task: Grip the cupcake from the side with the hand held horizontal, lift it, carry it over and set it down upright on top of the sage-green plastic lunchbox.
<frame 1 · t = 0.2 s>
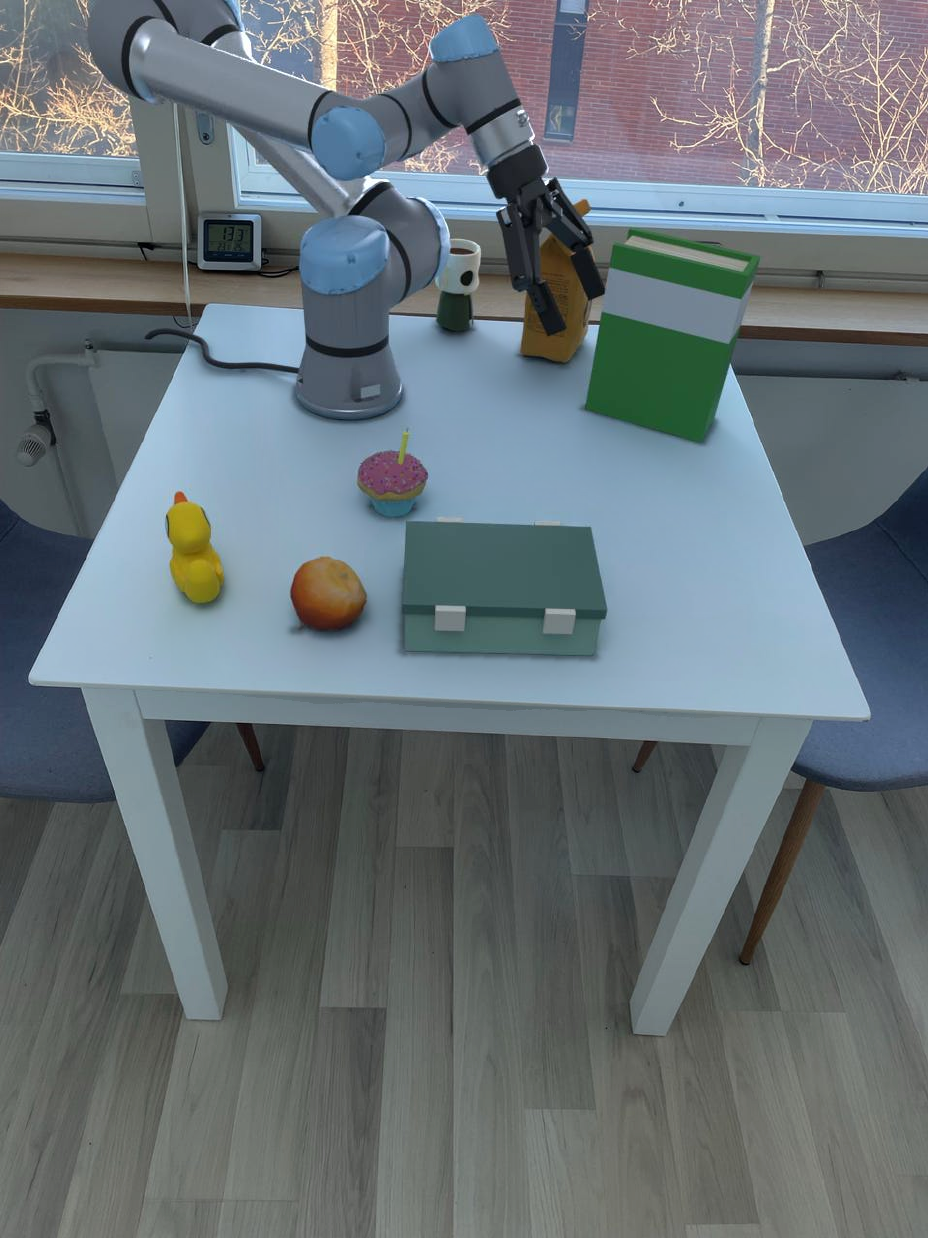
hand: (578, 314, 119), 15 cm above the table, tool tilted 35°, fingers open, 13 cm apart
character mug: (454, 326, 148), on the table
hardback book: (649, 415, 131), on the table
lunchbox: (496, 611, 98), on the table
coffee package: (553, 348, 144), on the table
fruit: (330, 619, 96), on the table
duckling: (200, 586, 98), on the table
cupcake: (391, 507, 111), on the table
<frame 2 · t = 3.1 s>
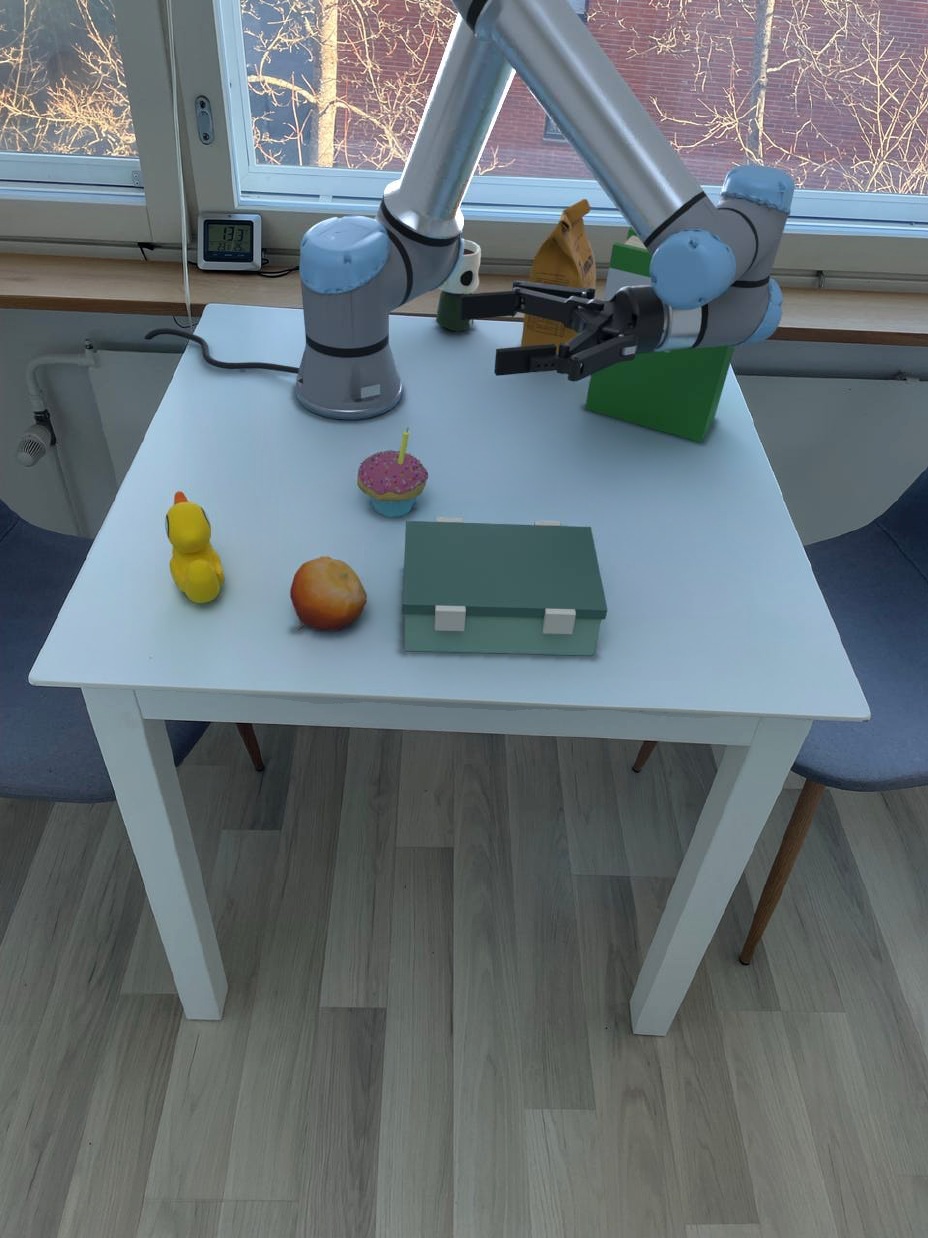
hand: (477, 333, 98), 22 cm above the table, tool horizontal, fingers open, 13 cm apart
nothing on the table moved.
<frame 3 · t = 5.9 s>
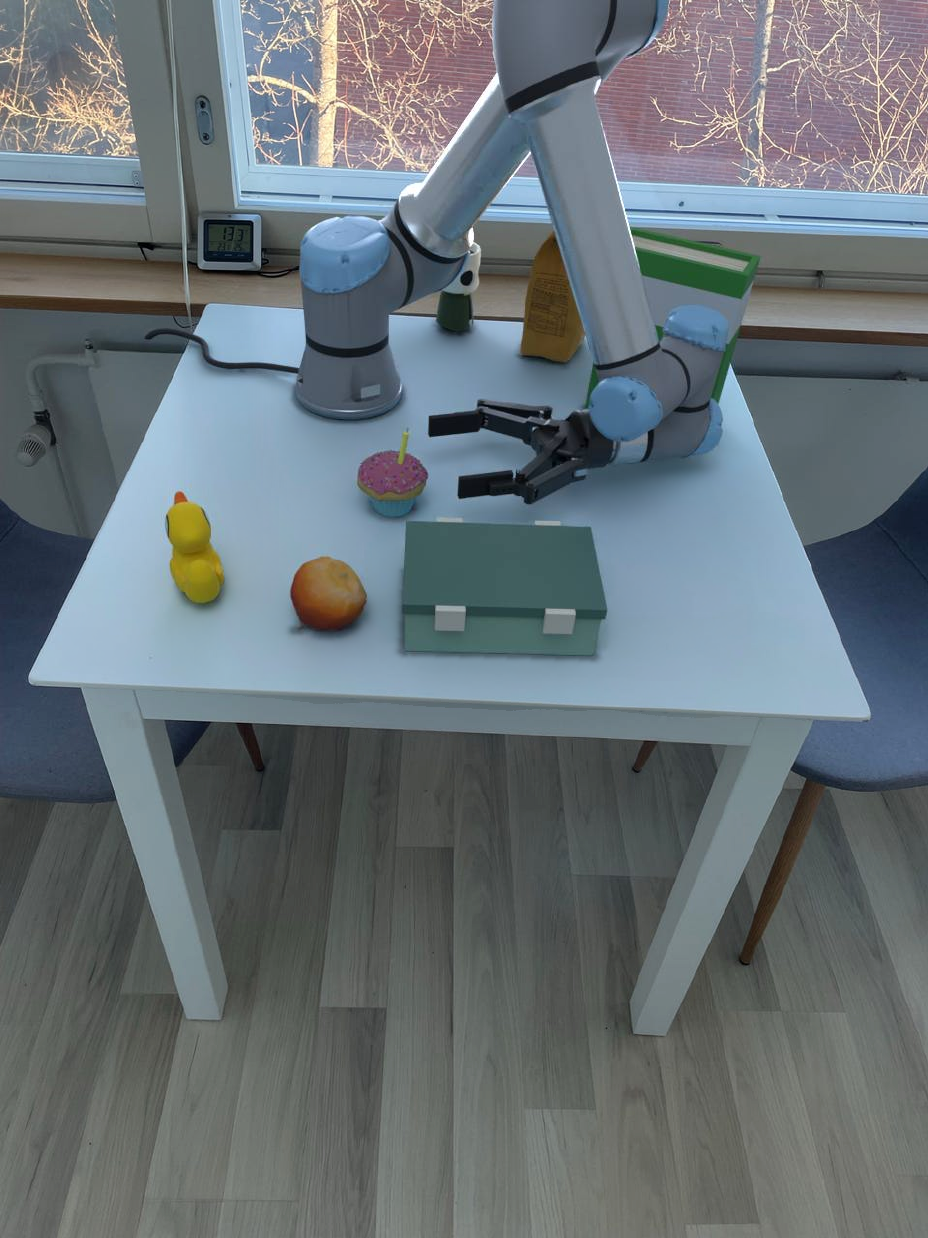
hand: (442, 455, 108), 7 cm above the table, tool horizontal, fingers open, 13 cm apart
nothing on the table moved.
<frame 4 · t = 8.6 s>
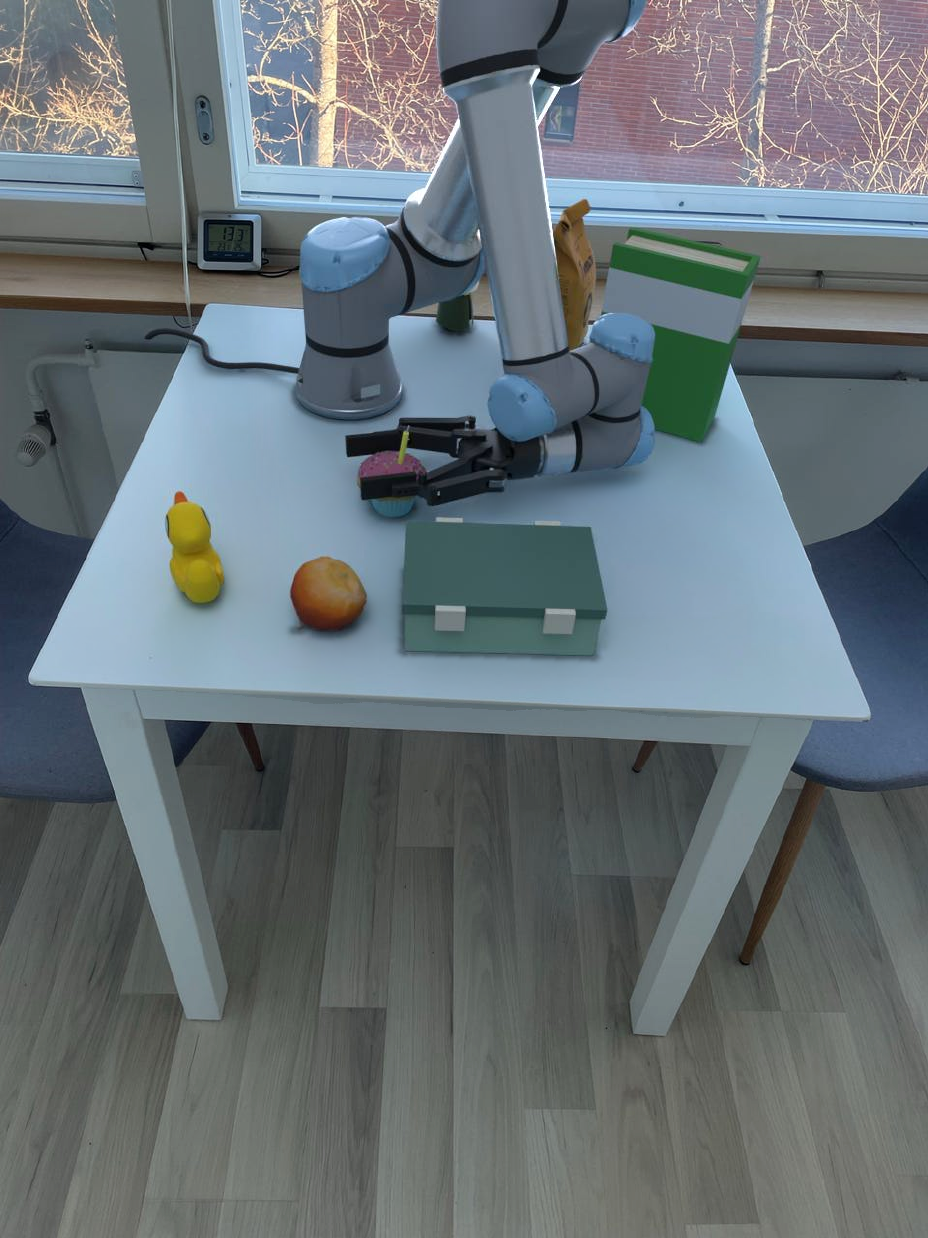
hand: (353, 467, 105), 6 cm above the table, tool horizontal, fingers closed on cupcake, 8 cm apart
cupcake: (391, 507, 111), on the table, touching gripper
everything else where it was.
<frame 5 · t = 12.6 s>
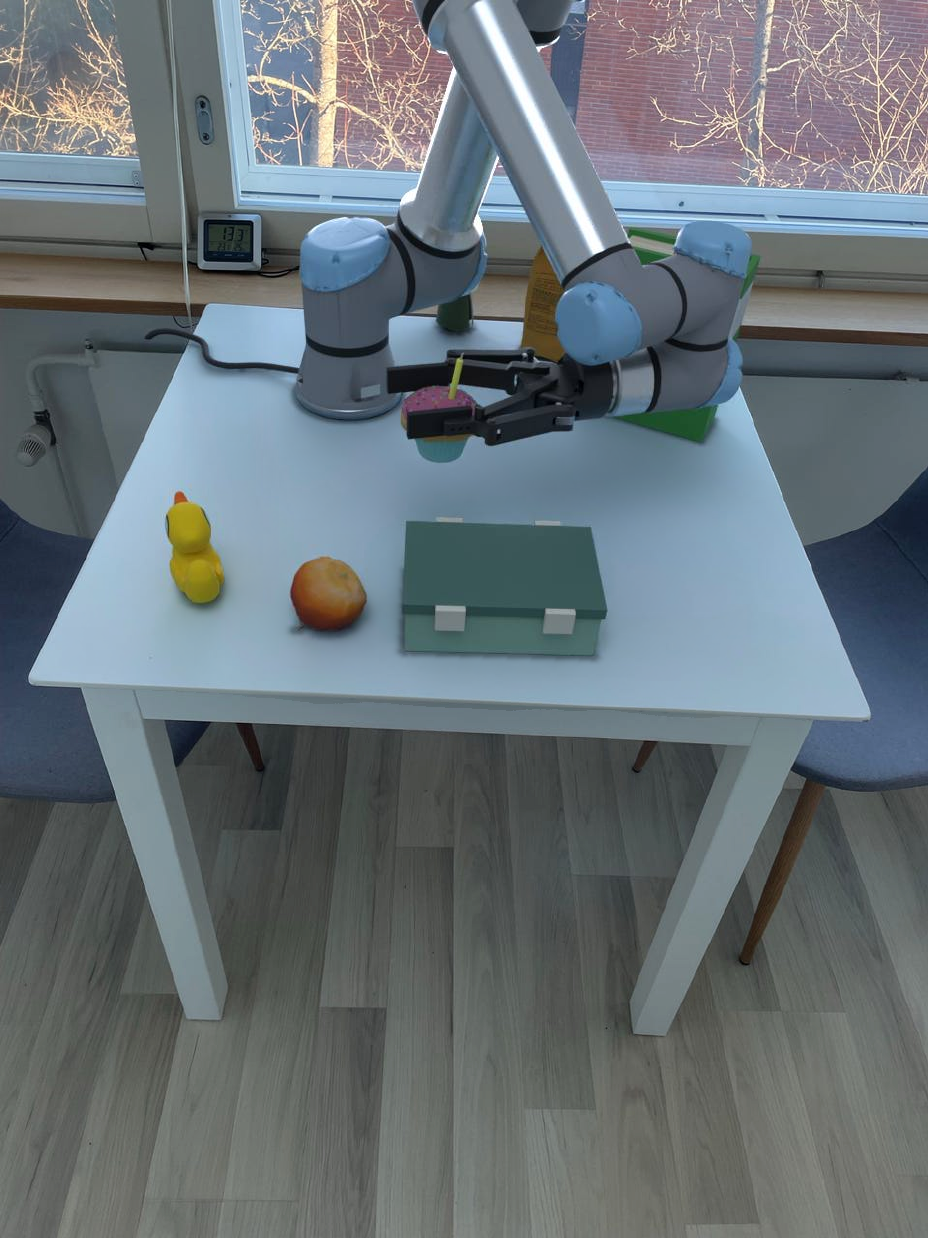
hand: (397, 402, 90), 20 cm above the table, tool horizontal, fingers closed on cupcake, 8 cm apart
cupcake: (439, 453, 96), point 13 cm above the table, touching gripper
everything else where it was.
when the fingers open (13 cm above the table, at t = 16.9 s): cupcake stays where it is, resting on lunchbox.
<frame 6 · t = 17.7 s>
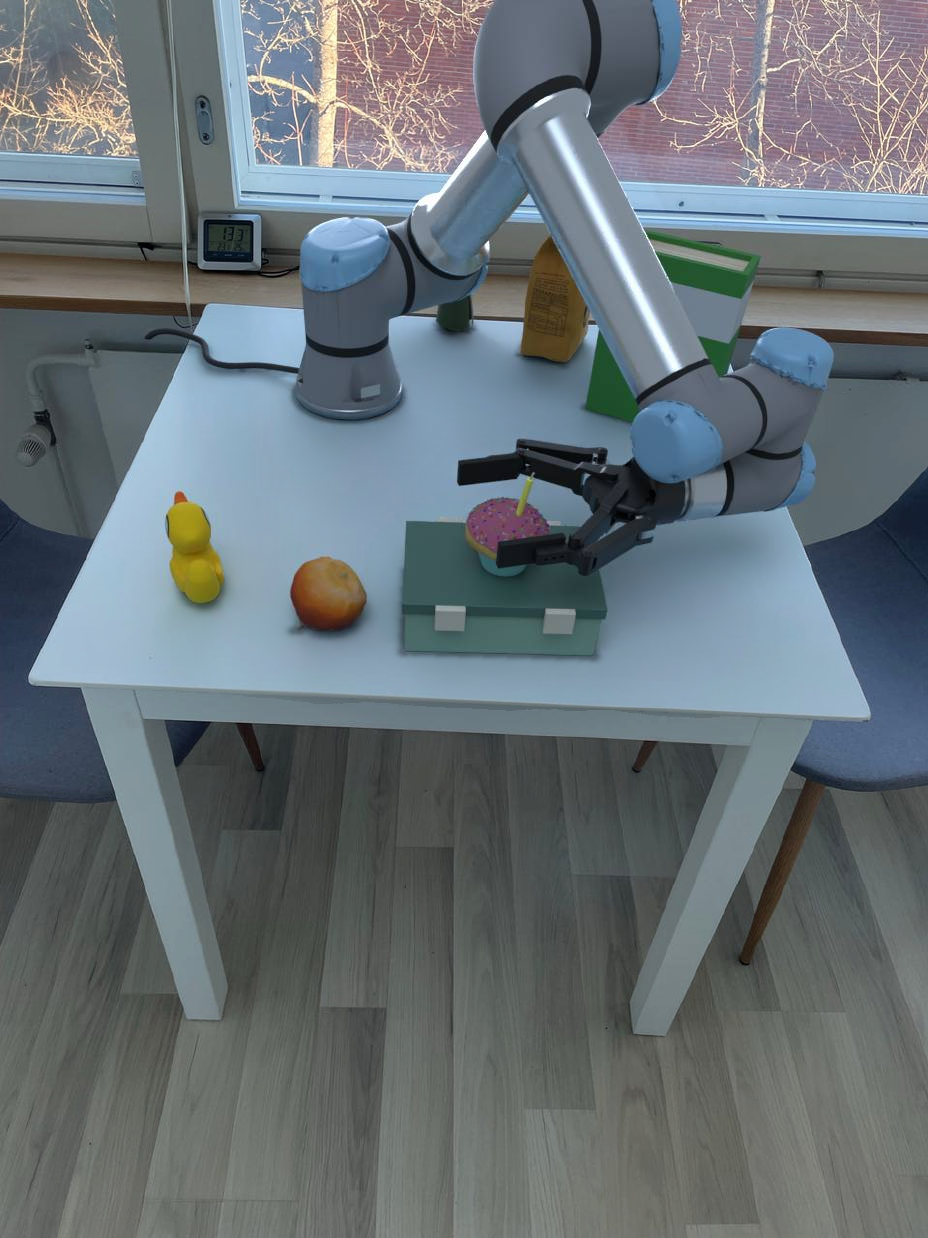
hand: (476, 512, 87), 14 cm above the table, tool horizontal, fingers open, 13 cm apart
cupcake: (502, 564, 93), point 7 cm above the table, touching lunchbox
everything else where it was.
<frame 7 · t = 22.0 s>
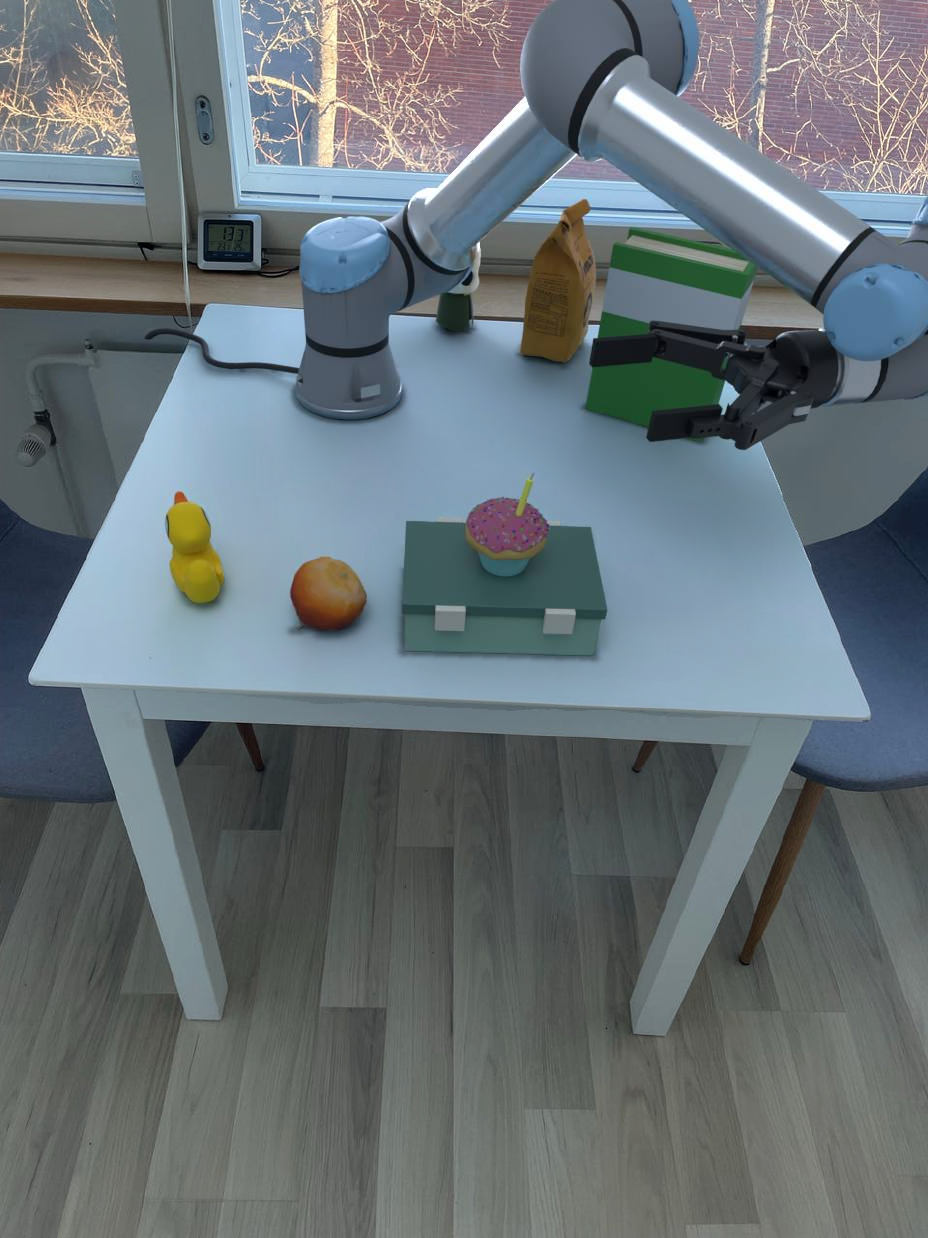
hand: (619, 387, 82), 27 cm above the table, tool horizontal, fingers open, 13 cm apart
nothing on the table moved.
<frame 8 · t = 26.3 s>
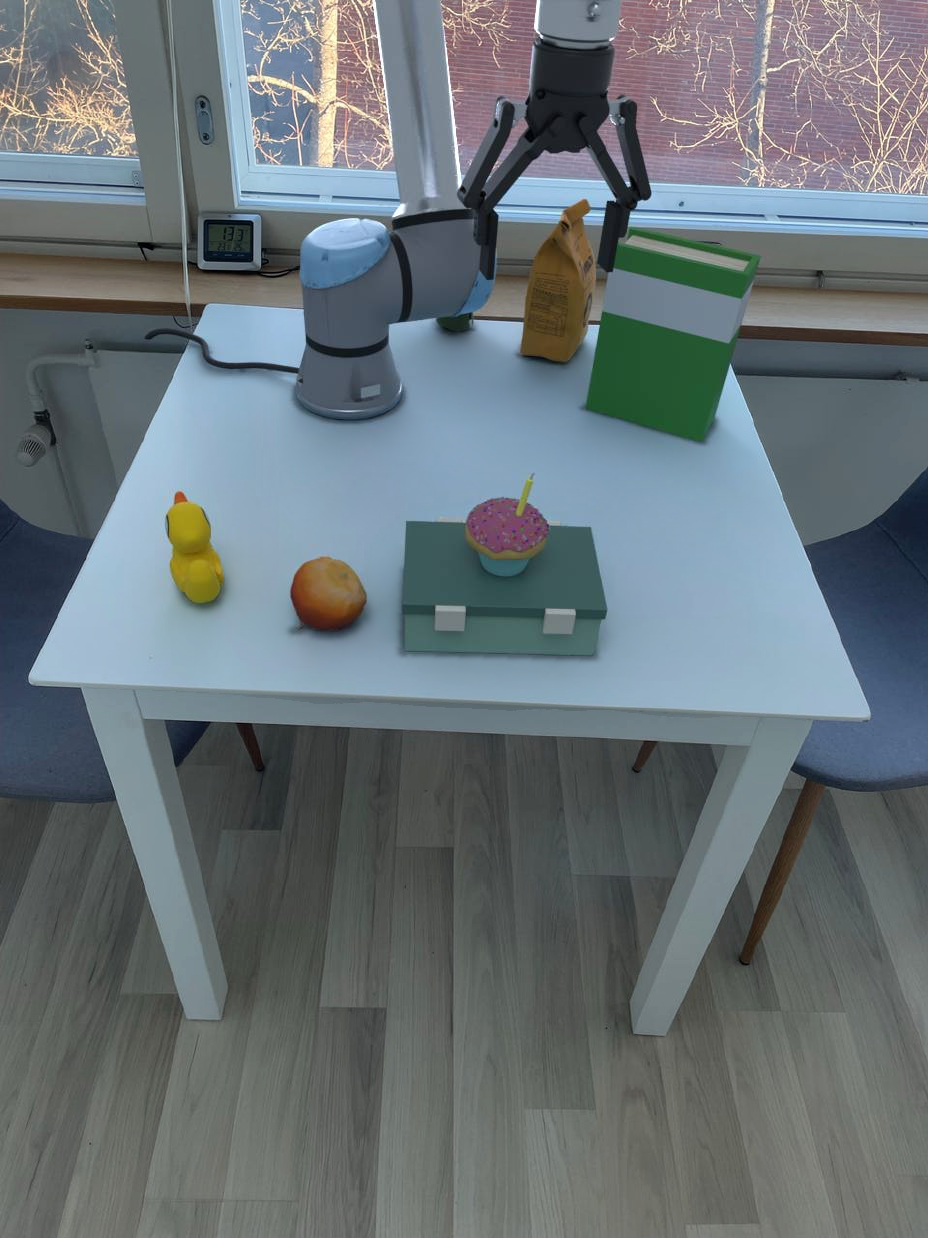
hand: (546, 271, 95), 29 cm above the table, tool pointing down, fingers open, 13 cm apart
nothing on the table moved.
at the end: cupcake inside the target area on the lunchbox (0.0 cm from its centre), point 6.8 cm above the lunchbox's base; cupcake tilted 0°; the gripper is holding nothing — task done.
